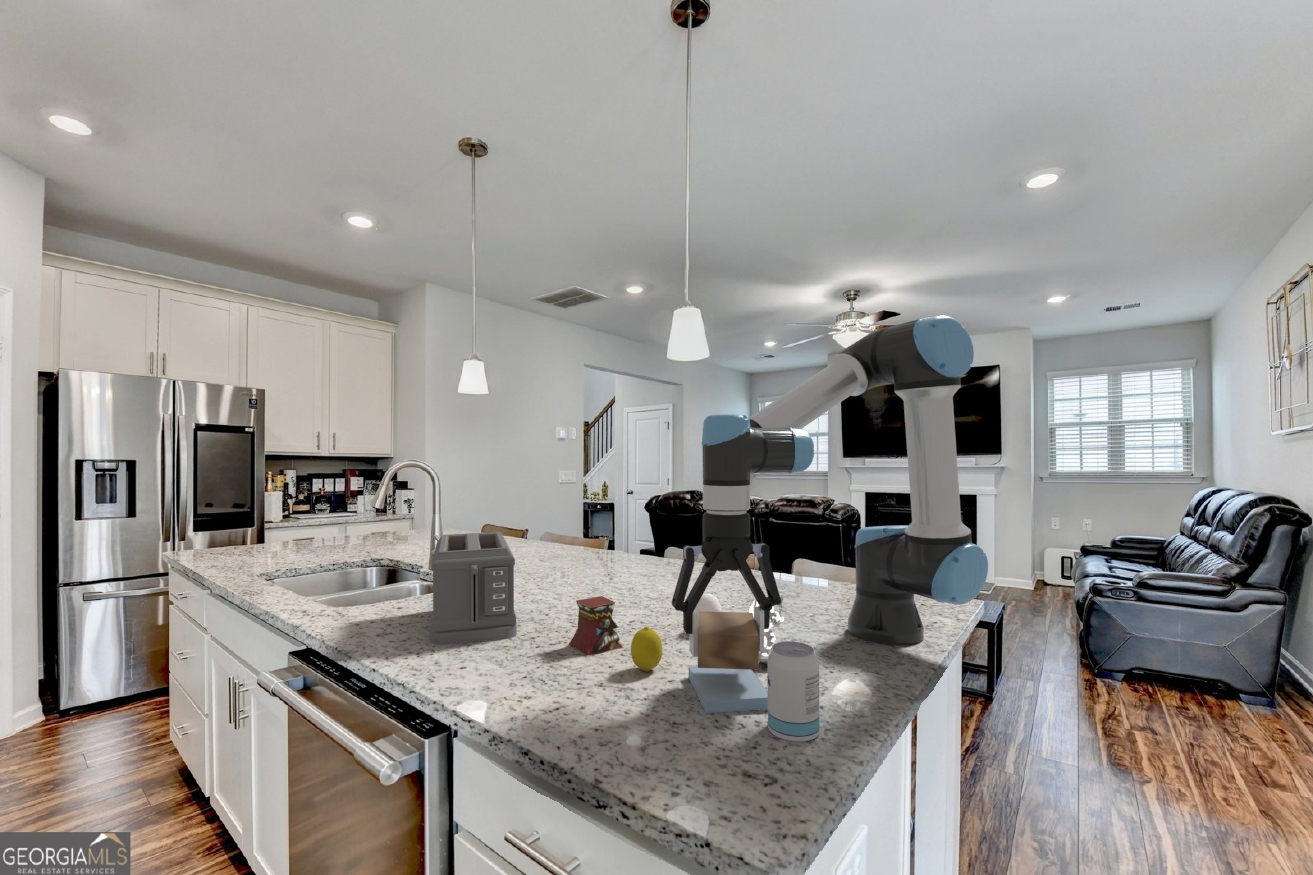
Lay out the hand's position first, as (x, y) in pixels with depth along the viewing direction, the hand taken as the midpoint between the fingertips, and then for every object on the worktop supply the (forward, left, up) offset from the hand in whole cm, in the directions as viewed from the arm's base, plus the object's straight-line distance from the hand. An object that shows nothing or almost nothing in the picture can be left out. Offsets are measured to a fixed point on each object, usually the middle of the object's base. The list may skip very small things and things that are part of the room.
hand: (726, 651), depth 93 cm
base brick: (0, 0, -8) cm, 8 cm away
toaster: (+44, -47, -7) cm, 65 cm away
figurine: (-11, -12, -7) cm, 18 cm away
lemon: (+11, -12, -7) cm, 18 cm away
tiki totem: (+19, -27, -7) cm, 34 cm away
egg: (-6, -33, -7) cm, 34 cm away
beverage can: (-5, +14, -7) cm, 17 cm away
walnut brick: (0, 0, 0) cm, 0 cm away
